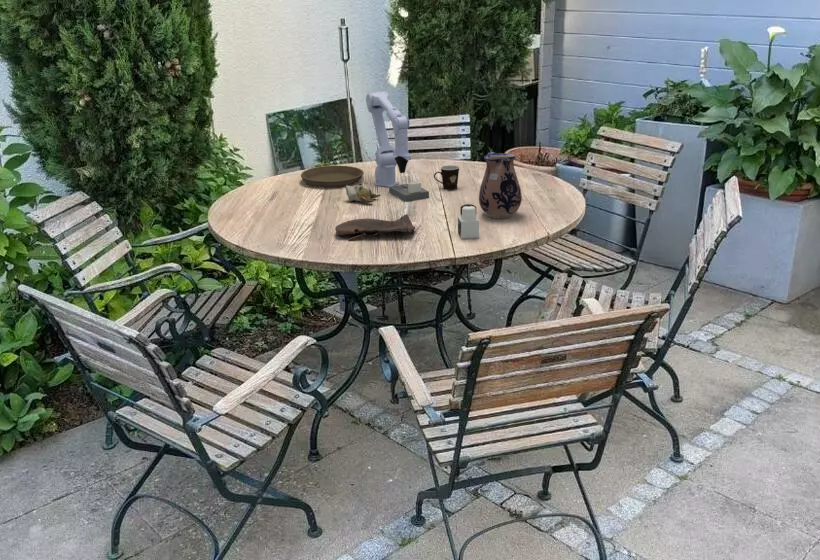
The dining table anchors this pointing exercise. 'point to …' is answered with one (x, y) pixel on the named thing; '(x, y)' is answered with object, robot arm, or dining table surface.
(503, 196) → the ceramic pitcher
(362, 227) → the glove
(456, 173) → the coffee mug
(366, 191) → the ceramic sculpture
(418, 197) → the console
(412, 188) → the fader
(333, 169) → the plant saucer
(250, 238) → the dining table surface
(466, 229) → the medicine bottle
